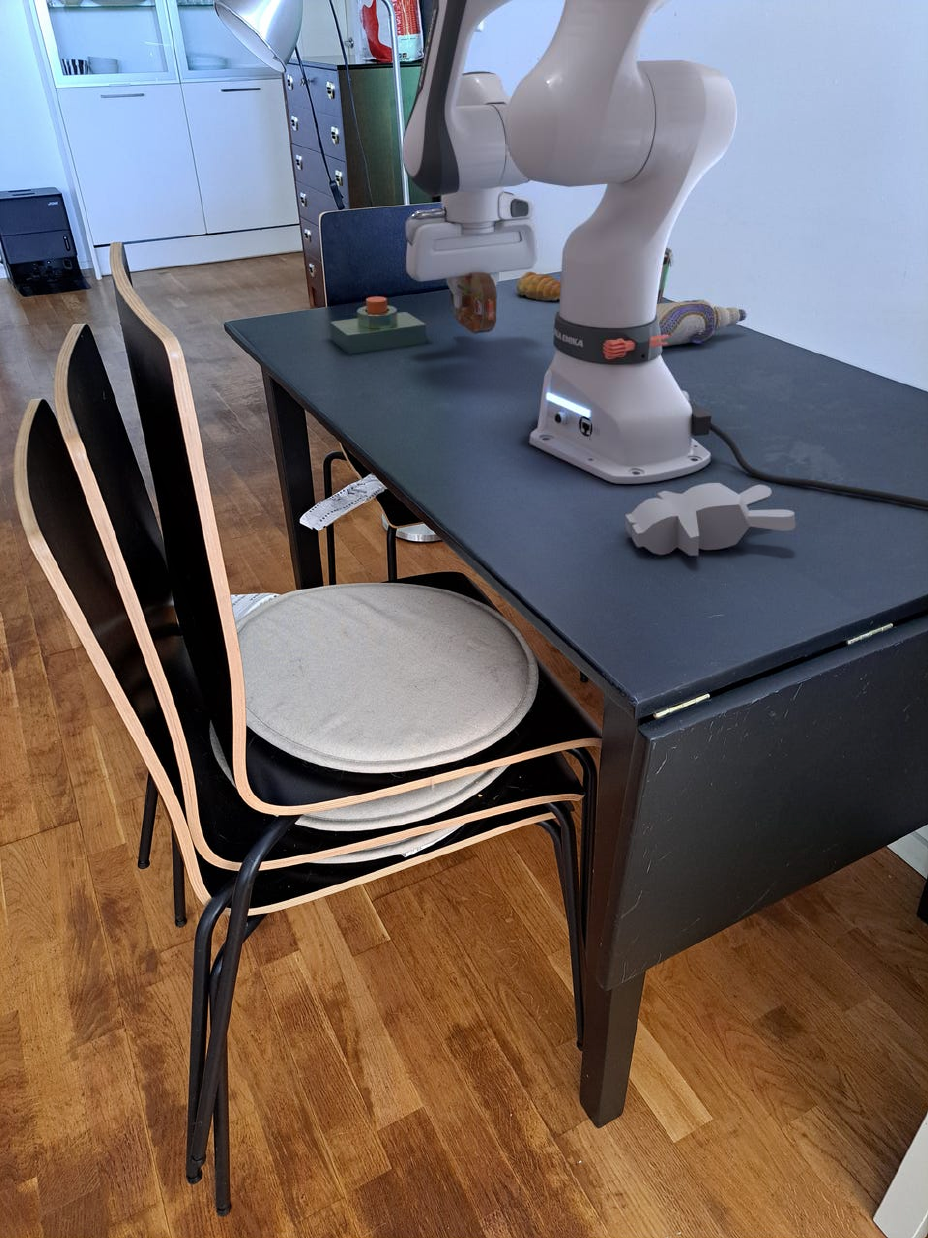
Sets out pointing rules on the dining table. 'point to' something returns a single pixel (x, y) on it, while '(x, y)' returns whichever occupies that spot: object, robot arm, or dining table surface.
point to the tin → (477, 303)
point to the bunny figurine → (702, 518)
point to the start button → (376, 305)
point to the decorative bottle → (694, 320)
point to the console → (377, 331)
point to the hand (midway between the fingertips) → (473, 305)
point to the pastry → (539, 286)
